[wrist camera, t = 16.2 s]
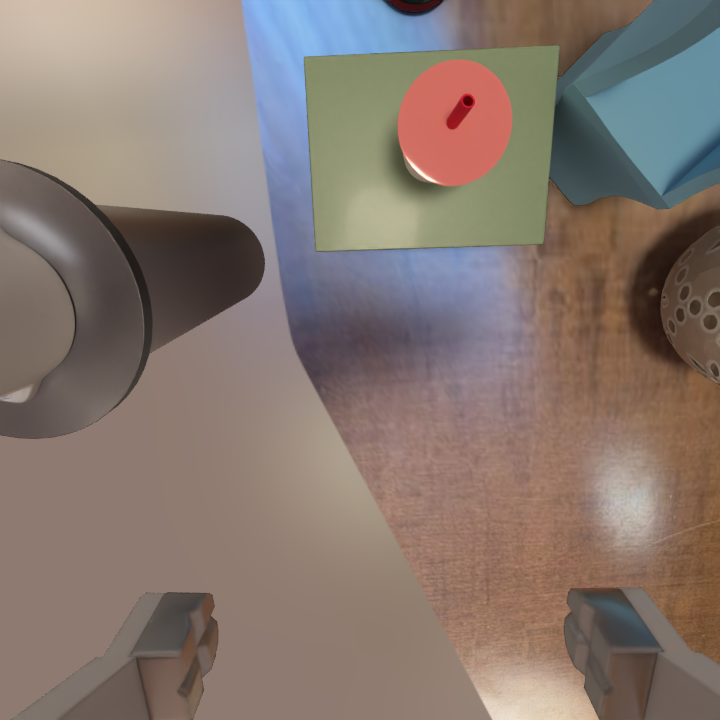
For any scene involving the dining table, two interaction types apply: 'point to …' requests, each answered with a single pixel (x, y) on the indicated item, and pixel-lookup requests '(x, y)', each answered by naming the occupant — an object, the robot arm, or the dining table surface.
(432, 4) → the beverage can
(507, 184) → the sage green box
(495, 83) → the cup
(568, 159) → the vase
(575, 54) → the dining table surface
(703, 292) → the ornament
